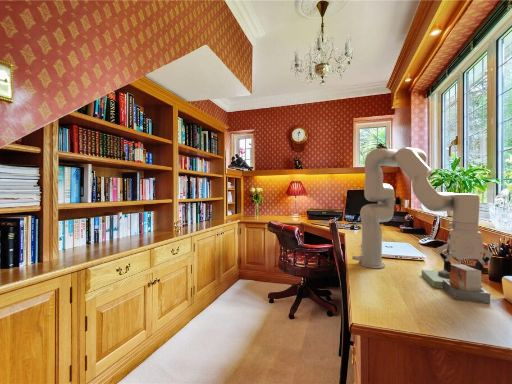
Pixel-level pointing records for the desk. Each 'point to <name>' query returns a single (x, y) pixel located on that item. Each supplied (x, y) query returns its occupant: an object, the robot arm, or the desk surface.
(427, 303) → the desk surface
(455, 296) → the grey tray
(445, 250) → the watch
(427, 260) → the desk surface
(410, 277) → the desk surface
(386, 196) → the robot arm
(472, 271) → the small box
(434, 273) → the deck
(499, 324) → the desk surface
